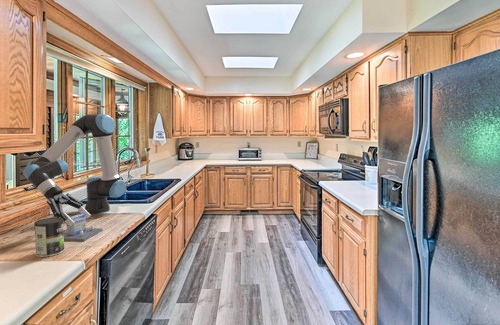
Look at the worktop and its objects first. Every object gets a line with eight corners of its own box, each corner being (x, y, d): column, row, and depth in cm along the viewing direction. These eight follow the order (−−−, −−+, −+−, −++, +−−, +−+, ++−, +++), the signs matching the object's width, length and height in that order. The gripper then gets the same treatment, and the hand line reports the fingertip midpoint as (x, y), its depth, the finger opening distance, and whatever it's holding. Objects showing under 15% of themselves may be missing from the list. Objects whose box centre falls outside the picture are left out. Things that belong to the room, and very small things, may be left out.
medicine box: (74, 235, 144) (73, 218, 143) (66, 234, 144) (66, 217, 144) (86, 230, 151) (85, 214, 151) (78, 230, 152) (78, 213, 152)
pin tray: (70, 229, 156) (69, 223, 156) (102, 230, 155) (102, 223, 155) (48, 240, 140) (47, 232, 140) (84, 241, 139) (83, 233, 139)
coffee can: (67, 247, 132) (66, 216, 131) (60, 255, 122) (58, 223, 121) (41, 249, 129) (39, 218, 128) (31, 258, 119) (29, 224, 118)
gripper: (62, 190, 159) (90, 218, 160) (25, 200, 135) (58, 233, 135) (71, 181, 158) (99, 209, 159) (36, 189, 134) (69, 222, 134)
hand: (80, 220), depth 147 cm, fingers open, 12 cm apart
